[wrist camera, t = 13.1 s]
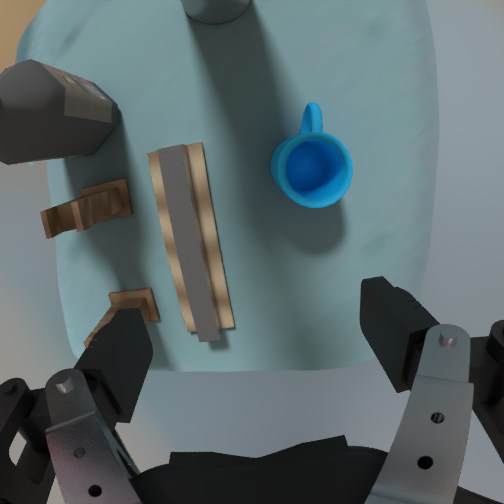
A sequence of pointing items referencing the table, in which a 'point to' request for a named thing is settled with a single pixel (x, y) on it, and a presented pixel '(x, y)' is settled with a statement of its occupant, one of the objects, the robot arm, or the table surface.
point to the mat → (207, 233)
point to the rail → (189, 240)
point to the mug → (312, 164)
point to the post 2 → (128, 300)
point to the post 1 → (88, 208)
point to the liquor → (51, 114)
